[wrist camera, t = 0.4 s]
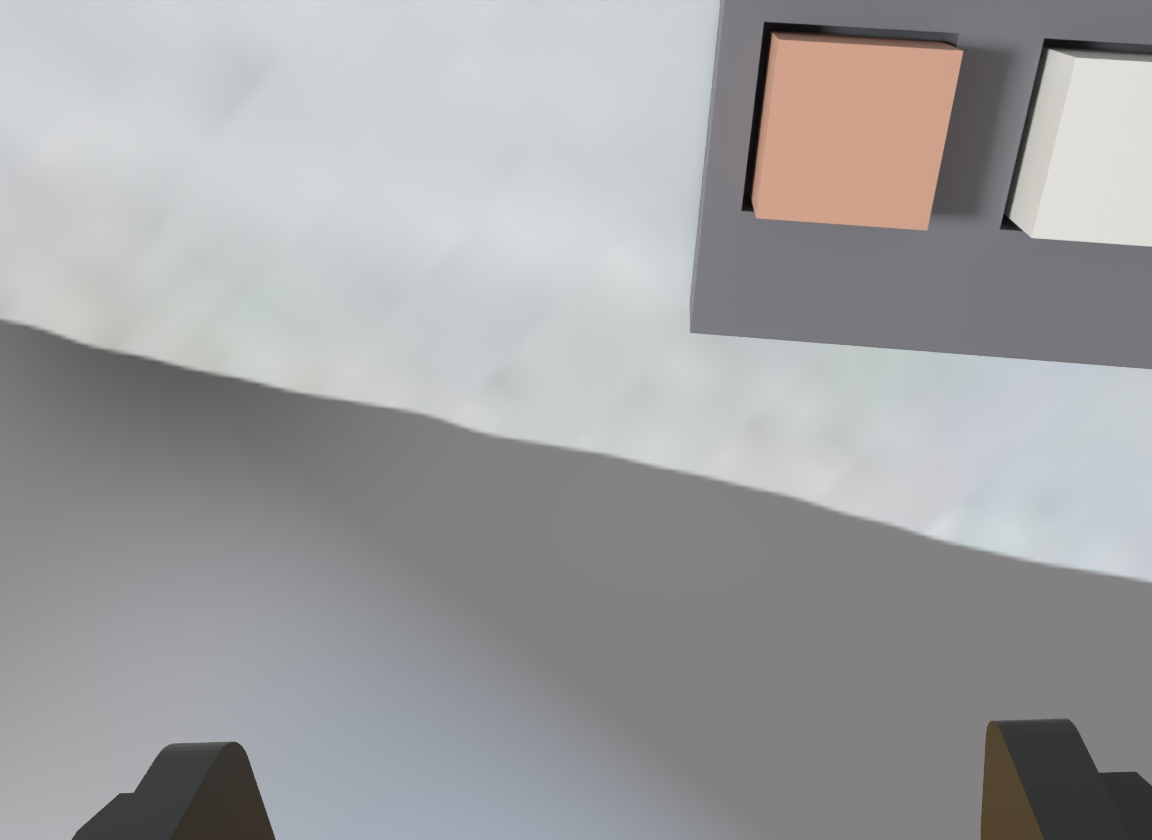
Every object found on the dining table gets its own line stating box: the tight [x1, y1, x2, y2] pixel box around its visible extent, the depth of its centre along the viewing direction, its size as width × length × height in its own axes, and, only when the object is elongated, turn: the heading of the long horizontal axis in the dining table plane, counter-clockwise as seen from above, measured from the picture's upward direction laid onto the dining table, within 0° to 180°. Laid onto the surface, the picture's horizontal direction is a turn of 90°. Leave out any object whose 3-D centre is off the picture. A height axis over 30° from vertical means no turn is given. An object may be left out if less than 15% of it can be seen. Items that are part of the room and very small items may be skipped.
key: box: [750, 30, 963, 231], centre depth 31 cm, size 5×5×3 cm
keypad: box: [690, 0, 1152, 369], centre depth 32 cm, size 14×24×3 cm, turn 87°
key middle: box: [1004, 47, 1152, 247], centre depth 30 cm, size 5×5×3 cm
